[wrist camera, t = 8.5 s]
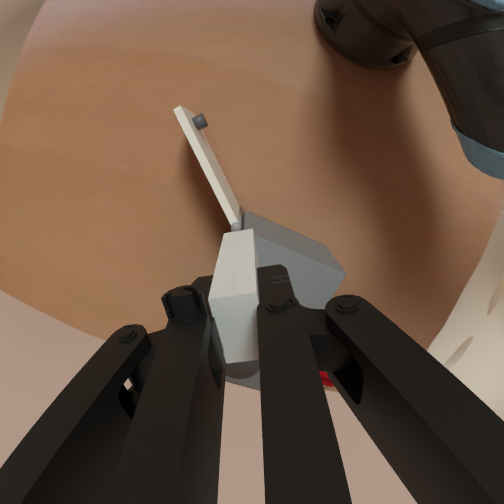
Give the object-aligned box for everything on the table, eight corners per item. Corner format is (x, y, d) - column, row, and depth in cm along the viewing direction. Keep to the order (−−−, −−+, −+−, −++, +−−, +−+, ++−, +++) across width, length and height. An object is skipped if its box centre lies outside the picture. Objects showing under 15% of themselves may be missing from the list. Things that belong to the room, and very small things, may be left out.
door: (251, 207, 36) (252, 226, 28) (236, 214, 36) (233, 235, 28) (203, 109, 31) (190, 98, 23) (187, 117, 32) (170, 109, 24)
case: (244, 209, 36) (243, 233, 27) (325, 245, 38) (349, 278, 29) (193, 328, 43) (182, 372, 33) (263, 351, 45) (267, 397, 35)
